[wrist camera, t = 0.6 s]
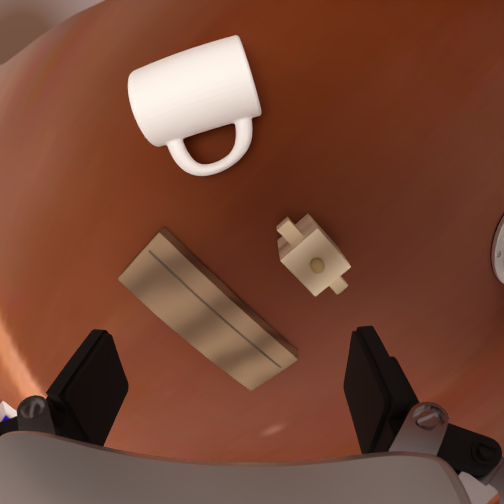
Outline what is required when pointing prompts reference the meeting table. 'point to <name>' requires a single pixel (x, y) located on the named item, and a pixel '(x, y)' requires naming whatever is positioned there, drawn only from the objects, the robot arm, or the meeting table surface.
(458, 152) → the meeting table surface
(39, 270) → the meeting table surface
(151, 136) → the mug
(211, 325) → the board
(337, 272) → the beige block with peg
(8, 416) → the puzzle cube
